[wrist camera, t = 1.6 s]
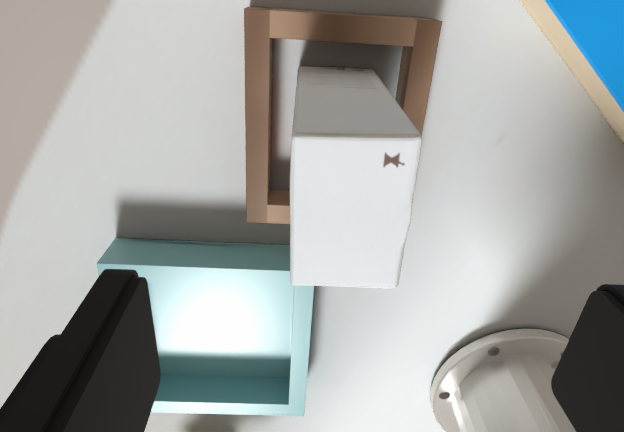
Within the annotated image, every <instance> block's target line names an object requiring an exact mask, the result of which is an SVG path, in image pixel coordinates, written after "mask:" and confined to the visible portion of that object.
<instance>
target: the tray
mask: <svg viewBox="0 0 624 432" xmlns="http://www.w3.org/2000/svg"><path fill="white" fill-rule="evenodd" d="M97 268H98V273H99V276H100V274H101V273H102V272H103V271H104V270H105V269H130V270H136V271H137V273H138V276H139V277H145V278H146V280H147V283H148V290H149V296H150V303H151V310H152V317H153V323H154V330H155V337H156V343H157V350H158V357H159V363H160V371H161V377H160V384H159V388H158V391H157V394H156V397H155V400H154V403H153V406H152V409H151V412H158V413H198V414H238V415H278V416H304V413H305V400H306V386H307V373H308V360H309V347H310V334H311V321H312V307H313V294H314V286H302V285H301V286H294V285H291V283H290V245H278V244H254V243H229V242H205V241H181V240H157V239H133V238H115V239H114V241H113V242H112V244H111V245H110V246H109V248H108V249H107V250H106V252H105V253H104V254H103V256H102V257H101V258H100V260H99V261H98V262H97Z"/></svg>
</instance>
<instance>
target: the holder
mask: <svg viewBox="0 0 624 432" xmlns="http://www.w3.org/2000/svg"><path fill="white" fill-rule="evenodd" d="M441 25H442V21H439V20H435V19H431V18H419V17H403V16H388V15H372V14H356V13H341V12H325V11H310V10H294V9H279V8H263V7H247V8H245V9H244V31H245V120H246V209H247V222H253V223H276V224H290V190H277V189H270V152H271V90H272V38H281V39H298V40H314V41H330V42H346V43H363V44H379V45H395V46H403V52H402V58H401V65H400V72H399V79H398V86H397V92H396V99H395V100H396V101H397V103H398V104H399V106H400V107H401V109H402V110H403V111H404V112H405V114H406V115H407V117H408V118H409V119H410V121H411V122H412V123H413V125H414V126H415V127H416V129H417V130H418V131H419V133H420V134H421V135H422V130H423V124H424V119H425V113H426V108H427V102H428V97H429V91H430V86H431V80H432V75H433V69H434V64H435V58H436V52H437V47H438V41H439V36H440V30H441Z"/></svg>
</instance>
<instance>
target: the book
mask: <svg viewBox="0 0 624 432" xmlns="http://www.w3.org/2000/svg"><path fill="white" fill-rule="evenodd" d="M519 1H520V2H521V4H522V5H523V6H524V8H525V9H526V10H527V12H528V13H529V15H530V16H531V17H532V19H533V20H534V21H535V23H536V24H537V26H538V27H539V28H540V30H541V31H542V32H543V34H544V35H545V36H546V38H547V39H548V41H549V42H550V43H551V45H552V46H553V47H554V49H555V50H556V52H557V53H558V54H559V56H560V57H561V58H562V60H563V61H564V62H565V64H566V65H567V67H568V68H569V69H570V71H571V72H572V73H573V75H574V76H575V78H576V79H577V80H578V82H579V83H580V84H581V86H582V87H583V89H584V90H585V91H586V93H587V94H588V95H589V97H590V98H591V99H592V101H593V102H594V104H595V105H596V106H597V108H598V109H599V110H600V112H601V113H602V115H603V116H604V117H605V119H606V120H607V121H608V123H609V124H610V125H611V127H612V128H613V130H614V131H615V132H616V134H617V135H618V136H619V138H620V139H621V141H622V142H623V143H624V0H519Z"/></svg>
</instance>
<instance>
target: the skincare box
mask: <svg viewBox="0 0 624 432" xmlns="http://www.w3.org/2000/svg"><path fill="white" fill-rule="evenodd" d="M421 143H422V136H421V134H420V133H419V131H418V130H417V129H416V127H415V126H414V125H413V123H412V122H411V121H410V119H409V118H408V117H407V115H406V114H405V112H404V111H403V110H402V109H401V107H400V106H399V104H398V103H397V101H396V100H395V99H394V98H393V96H392V95H391V93H390V92H389V91H388V89H387V88H386V87H385V85H384V84H383V82H382V81H381V79H380V78H379V77H378V75H377V74H376V73H375V71H374V70H373V69H359V68H335V67H305V66H300V67H299V68H298V75H297V87H296V97H295V108H294V118H293V130H292V143H291V161H290V283H291V285H294V286H301V285H302V286H342V287H368V288H387V289H395V288H396V287H397V286H398V283H399V277H400V271H401V265H402V259H403V253H404V247H405V242H406V237H407V234H408V230H409V226H410V221H411V215H412V203H413V196H414V189H415V183H416V177H417V170H418V163H419V156H420V150H421Z"/></svg>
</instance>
